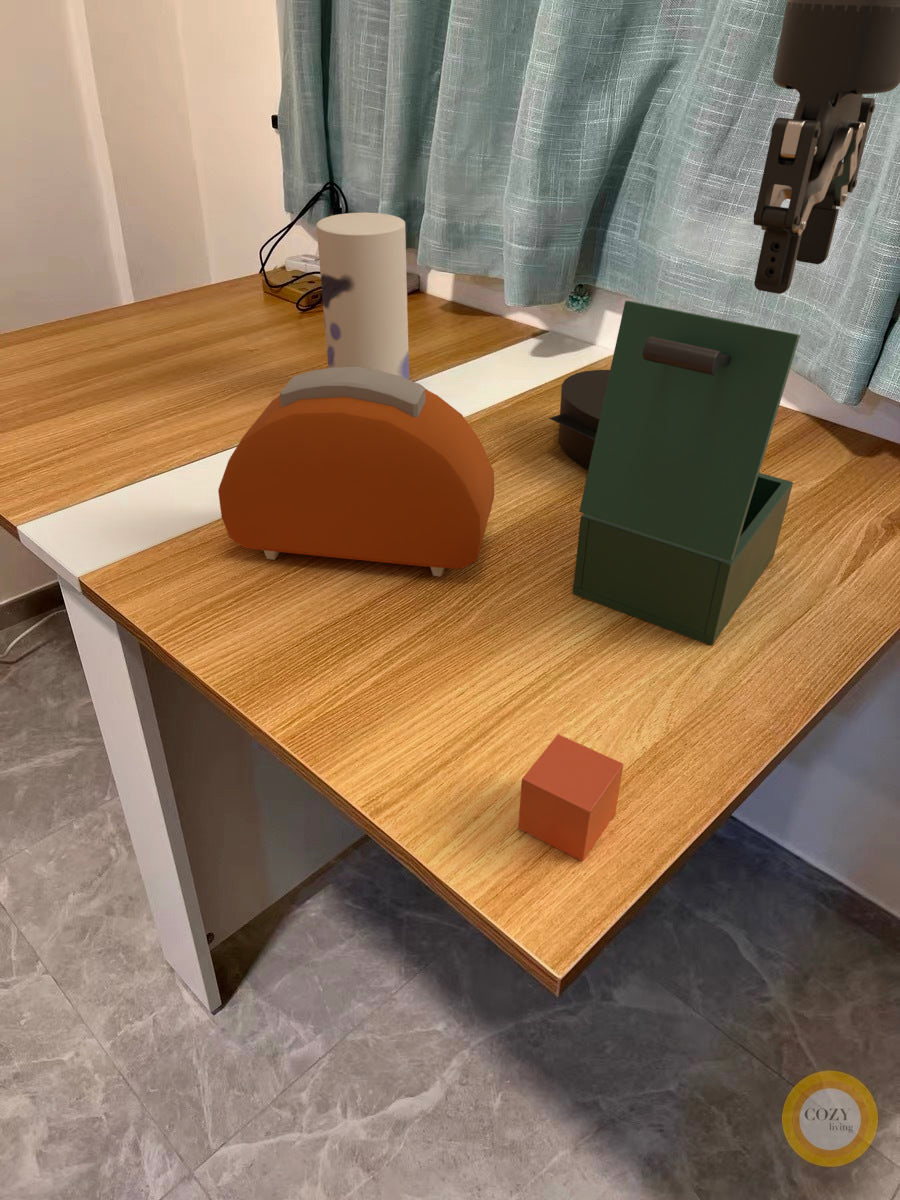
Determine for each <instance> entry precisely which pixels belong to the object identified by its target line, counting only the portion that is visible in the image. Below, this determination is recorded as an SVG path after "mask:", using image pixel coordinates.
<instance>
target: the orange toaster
mask: <svg viewBox="0 0 900 1200" xmlns="http://www.w3.org/2000/svg"><path fill="white" fill-rule="evenodd" d="M217 490H218V491H217V492H218V493H217V494H218V499H219V508H220V516H221V520H222V522H223V524H224V528H225V530H226V532H227V535H228V537H229V538H230V539H231V540H232V541H234V542H236V543H237V544H238V545H240V546H241V547H242V548H244V549H251V550H252V549H254V550H260V551H263V552H264V555H265V557H266V559H267V560H273V561H275V560H276V559H277V557H278V555H279V554H280V553H287V554H295V555H296V554H297V555H308V556H315V557H316V556H317V557H329V558H336V559H337V558H338V559H345V560H357V561H365V562H366V561H369V562H378V563H388V564H396V565H397V564H398V565H405V566H406V565H408V566H418V567H427V568H430V571H431V574H432V576H433V577H440V578H441V577H442V576H443V574H444V571H445V569H452V570H453V569H454V570H461V569H463V568H465V567H467V566H469V565H471V564H473V563H474V562H476V561H477V560H478V558H479V555H480V551H481V549H482V548H481V546H482V544H483V540H484V537H485V533H486V530H487V526H488V523H489V522H488V521H489V518H490V514H491V511H492V507H493V503H494V499H495V470H494V468H493V466H492V463H491V461H490V460H489V457H488V455H487V452H486V450H485V448H484V446H483V444H482V442H481V439H480V438H479V436H478V435H477V433H476V432H475V431H474V429H473V428H472V427H471V425H470V424H469V422H468V421H467V419H466V418H465V417H464V415H463V414H462V413H461V412H459V411H458V410H457V409H456V408H455V407H453V406H452V405H450V404H449V402H446V401H445V399H443V398H442V397H440V396H439V395H437V394H436V393H434V392H432V391H430V390H428V389H426V387H425V386H424V385H422V384H420V383H417V382H415V381H414V380H412V379H411V380H410V379H409V380H408V379H406V378H403V377H401V376H397V375H394V374H390V373H387V372H383V371H379V370H374V369H367V368H360V367H333V368H329V367H327V368H320V369H314V370H310V371H306V372H303V373H300V374H296V375H294V376H293V377H291V378H290V380H289V381H288V382H287V383H286V384H285V386H284V387H283V388H282V389H281V391H280V392H279V395H278V396H277V397H275V398H274V399H272V400H271V401H270V403H269V404H268V405H267V407H266V408H265V409H264V410H263V411H262V413H261V414H260V415H258V417H257V419H256V420H255V421H254V422H253V424H252V425H251V426H250V428H248V430H247V431H246V432H245V434H244V435H243V436H242V438H241V439H240V441H239V442H238V444H237V446H236V448H235V449H234V450H233V452H232V454H231V455H230V457H229V458H228V461H227V464H226V466H225V469H224V472H223V475H222V478H221V481H220V483H219V487H218V489H217Z"/></svg>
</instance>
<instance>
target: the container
mask: <svg viewBox="0 0 900 1200" xmlns="http://www.w3.org/2000/svg"><path fill="white" fill-rule="evenodd" d="M316 237H317V247H318V248H317V250H318V261H319V272H320V283H321V297H322V308H323V309H322V310H323V321H324V333H325V345H326V355H327V357H326V358H327V368H333V367H360V368H367V369H374V370H379V371H383V372H387V373H390V374H394V375H397V376H401V377H403V378H406V379H408V380H410V356H409V355H410V353H409V325H408V324H409V319H408V318H409V316H408V315H409V313H408V282H407V281H408V280H407V279H408V278H407V244H406V243H407V242H406V241H407V240H406V221H405V220H404V219H403V218H401V217H400V216H397V215H392V214H387V213H380V212H347V213H339V214H334V215H330V216H327V217H324V218H321V219H320V220H319V221H318V222H316Z"/></svg>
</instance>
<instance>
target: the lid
mask: <svg viewBox="0 0 900 1200" xmlns="http://www.w3.org/2000/svg"><path fill="white" fill-rule="evenodd" d="M800 337H801V334H799V333H793V332H789V331H783V330H780V329H779V330H778V329H773V328H768V327H762V326H758V325H753V324H749V323H744V322H743V323H742V322H737V321H733V320H728V319H724V318H723V319H722V318H718V317H714V316H713V317H712V316H708V315H703V314H697V313H693V312H689V311H683V310H678V309H672V308H667V307H663V306H659V305H658V306H657V305H652V304H647V303H642V302H637V301H633V300H625V301H624V305H623V309H622V314H621V318H620V324H619V328H618V332H617V337H616V341H615V345H614V351H613V354H612V355H613V356H612V360H611V363H610V364H611V365H610V368H609V370H610V373H609V378H608V382H607V387H606V391H605V396H604V401H603V405H602V410H601V414H600V419H599V423H598V428H597V433H596V437H595V442H594V446H593V451H592V455H591V460H590V465H589V469H588V470H587V474H586V479H585V483H584V488H583V492H582V498H581V501H580V507H579V510H578V512H579V513H581V514H587V515H590V516H593V517H596V518H599V519H602V520H605V521H608V522H611V523H614V524H618V525H621V526H624V527H627V528H630V529H633V530H636V531H639V532H642V533H645V534H648V535H651V536H655V537H658V538H661V539H664V540H667V541H670V542H673V543H676V544H679V545H682V546H685V547H689V548H692V549H695V550H698V551H701V552H704V553H707V554H710V555H713V556H716V557H719V558H722V559H726V560H729V561H731V560H732V559H733V558H734V555H735V552H736V548H737V545H738V542H739V538H740V535H741V532H742V528H743V525H744V522H745V518H746V515H747V512H748V508H749V505H750V502H751V498H752V495H753V492H754V488H755V485H756V481H757V478H758V475H759V473H760V471H761V467H762V464H763V461H764V459H765V454H766V452H767V448H768V444H769V442H770V438H771V434H772V430H773V428H774V425H775V422H776V418H777V416H778V415H777V414H778V411H779V409H780V404H781V401H782V398H783V394H784V391H785V388H786V384H787V382H788V378H789V374H790V371H791V368H792V364H793V360H794V359H795V358H794V357H795V354H796V351H797V348H798V344H799V341H800Z"/></svg>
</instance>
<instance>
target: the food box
mask: <svg viewBox="0 0 900 1200" xmlns="http://www.w3.org/2000/svg"><path fill="white" fill-rule="evenodd" d="M793 484H794V482H793V481H792V480H788V479H783V478H780V477H777V476H773V475H770V474H765V473H761V472H759V475H758V478H757V481H756V485H755V488H754V492H753V495H752V498H751V502H750V505H749V508H748V512H747V515H746V518H745V522H744V525H743V528H742V532H741V535H740V538H739V542H738V545H737V548H736V552H735V555H734V558H733V559H732V560H731V561H729V560H726V559H722V558H719V557H716V556H713V555H710V554H707V553H704V552H701V551H698V550H695V549H692V548H689V547H685V546H682V545H679V544H676V543H673V542H670V541H667V540H664V539H661V538H658V537H655V536H651V535H648V534H645V533H642V532H639V531H636V530H633V529H630V528H627V527H624V526H621V525H618V524H614V523H611V522H608V521H605V520H602V519H599V518H596V517H593V516H590V515H587V514H584V513H582V515H580V520H579V529H578V537H577V538H578V539H577V547H576V548H577V549H576V556H575V566H574V567H575V568H574V575H573V586H572V595H575V596H578V597H580V598H583V599H586V600H588V601H592V602H593V603H596V604H599V605H602V606H604V607H607V608H609V609H612V610H616V611H618V612H621V613H623V614H626V615H628V616H632V617H634V618H636V619H639V620H643V621H644V622H648V623H650V624H653V625H656V626H658V627H660V628H664V629H666V630H669V631H672V632H675V633H678V634H680V635H683V636H685V637H688V638H691V639H693V640H696V641H699V642H701V643H705V644H707V645H709V646H713V645H714V644H715V643H716V641H717V640H718V639H719V636H720V635H721V634H722V632H723V631H724V629H726V626H727V625H728V624H729V623H730V621H731V619H732V618H733V616H734V615H735V613H736V612H737V610H738V609H739V608H740V606H741V605H742V603H743V602H744V600H745V598H746V597H747V596H748V595H749V593H750V592H751V590H752V588H754V586H755V584H756V583H757V581H758V580H759V579H760V578H761V576H762V575H763V573H764V571H765V570H766V568H767V567H768V565H769V564H770V562H771V561H772V560H773V558H774V556H775V554H776V549H777V546H778V542H779V537H780V533H781V530H782V526H783V523H784V519H785V516H786V512H787V507H788V504H789V500H790V496H791V492H792V488H793Z"/></svg>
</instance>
